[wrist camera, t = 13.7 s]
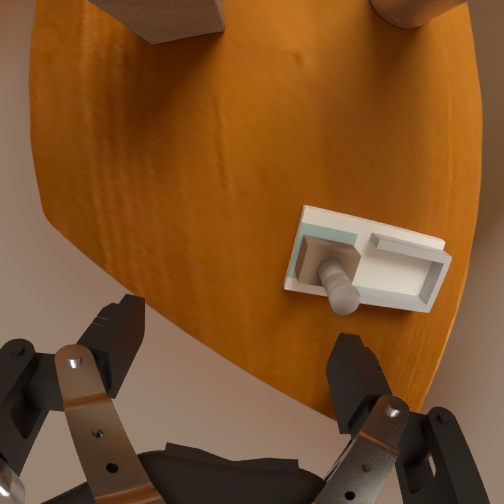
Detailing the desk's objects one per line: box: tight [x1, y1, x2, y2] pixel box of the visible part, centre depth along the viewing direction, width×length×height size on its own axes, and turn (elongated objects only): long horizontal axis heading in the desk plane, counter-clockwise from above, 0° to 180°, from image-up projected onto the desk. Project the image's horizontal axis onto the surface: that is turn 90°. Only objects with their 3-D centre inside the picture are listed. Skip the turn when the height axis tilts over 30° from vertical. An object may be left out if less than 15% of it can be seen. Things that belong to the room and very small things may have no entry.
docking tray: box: [283, 205, 452, 313], centre depth 41 cm, size 23×12×4 cm, turn 79°
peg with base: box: [295, 235, 361, 315], centre depth 36 cm, size 7×5×12 cm
